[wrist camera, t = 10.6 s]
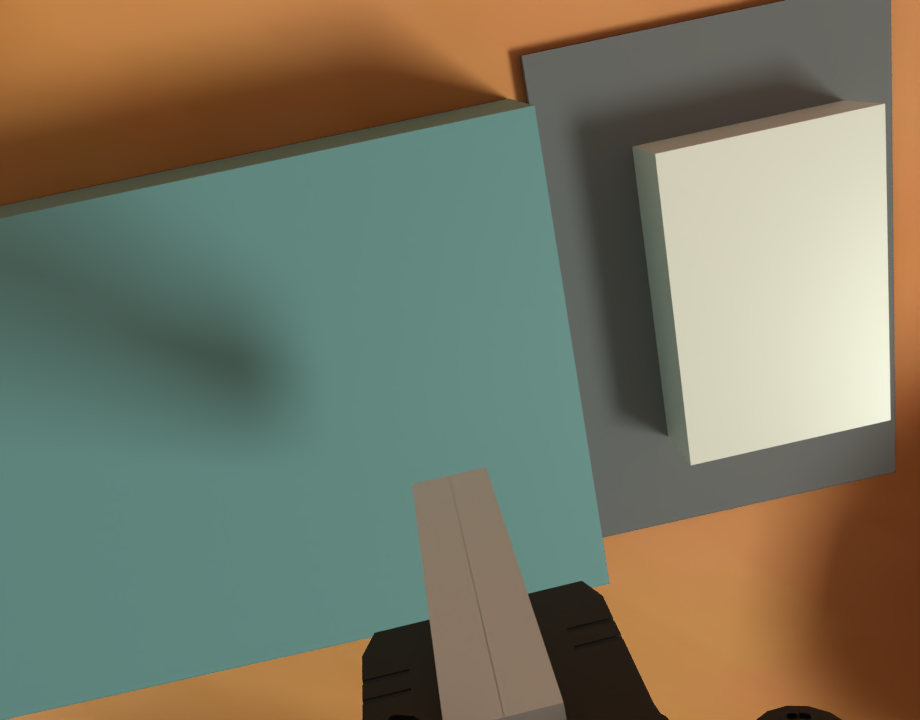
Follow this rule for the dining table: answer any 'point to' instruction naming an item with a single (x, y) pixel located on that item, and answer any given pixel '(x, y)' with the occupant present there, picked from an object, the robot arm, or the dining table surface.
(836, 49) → the mat
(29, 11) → the dining table surface
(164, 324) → the teal rectangular block
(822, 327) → the cream rectangular block
